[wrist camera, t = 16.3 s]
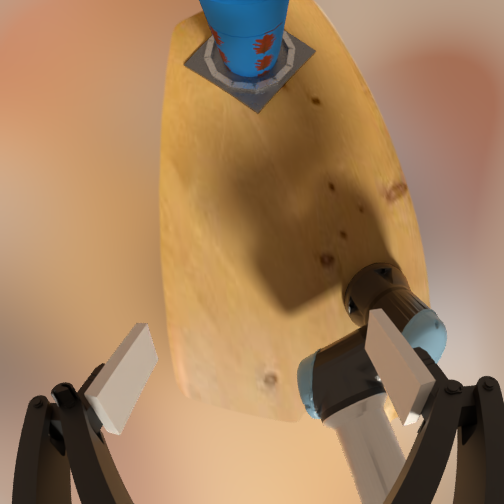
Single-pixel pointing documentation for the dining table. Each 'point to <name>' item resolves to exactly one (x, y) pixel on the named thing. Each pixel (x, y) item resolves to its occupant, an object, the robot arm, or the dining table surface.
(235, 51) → the thermos
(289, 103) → the dining table surface
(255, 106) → the collar dock
